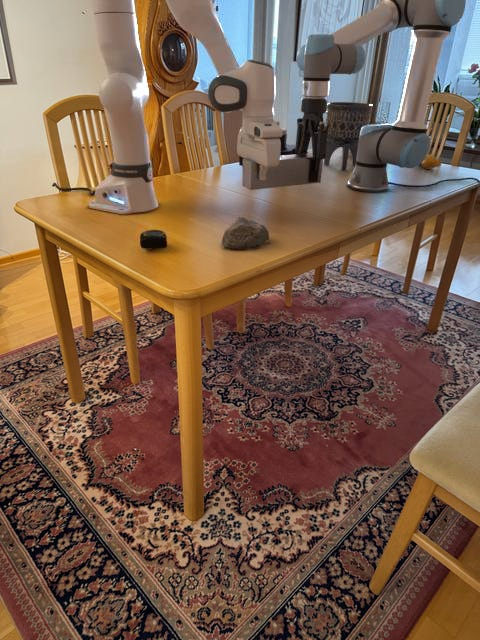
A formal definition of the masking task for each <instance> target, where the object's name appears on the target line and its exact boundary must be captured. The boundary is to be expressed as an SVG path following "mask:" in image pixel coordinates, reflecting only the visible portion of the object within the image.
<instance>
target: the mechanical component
mask: <svg viewBox="0 0 480 640" xmlns="http://www.w3.org/2000/svg"><path fill="white" fill-rule="evenodd" d="M274 121H275V122H276V123H277V124H278V126H279V127H280V121H279V120H274ZM280 128H281V129H282V137H278V138H279V139H280V141H281V152H280V156H282V155H295V154H298V153H297V152H295V147H296V144H290V143H287V138H288V129H287V128H286V127H280ZM307 153H310V152H309V150H307ZM238 157H239V159H238V166H240V167H243V157H241V156H239V155H238Z"/></svg>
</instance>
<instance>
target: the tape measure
mask: <svg viewBox="0 0 480 640" xmlns="http://www.w3.org/2000/svg"><path fill="white" fill-rule="evenodd" d="M167 236H168V235H167V234H166V232H165V231H164V230H161V229H147V230H144V231H143V232H141V233H140V235H139V240H140V241H139V245H140V246H139V247H141V248H142V249H146V250H157V249H167V248H168V240H167V239H168V237H167Z"/></svg>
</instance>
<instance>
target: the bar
mask: <svg viewBox="0 0 480 640" xmlns="http://www.w3.org/2000/svg"><path fill="white" fill-rule="evenodd" d="M316 156H317V155H316ZM311 159H313V154H312V152H309V153H308V154H295V155H282V156H280V161H279V164H278V166H277V167H268V170H267V172H266V178H265V180H259V179H258V173H260V169H261V168H260V164H258V163H256V162H255V161H253V160H250V159H248V158H243V166H242V175H241V176H242V179H241V181H242V182H241V186H243V188H246V189H248V190H249V191H255V190H264V189H273V188H283V187H291V186H292V187H293V186H301V185H302V186H303V185H310V184H312V185H313V184H320V183H321V180H322V173H323V165H324V159H322V160H320V166H319V172H318V182H311V183H310V182H309V175H310V164H311Z"/></svg>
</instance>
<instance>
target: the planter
mask: <svg viewBox="0 0 480 640" xmlns="http://www.w3.org/2000/svg"><path fill="white" fill-rule="evenodd" d="M373 107H374V106H373V104H372V103H367V102H353V101H333V102H328V103H327V111H326V113H325V123H329V129H328V133H327V145H326V157H325V159H323V165H325V166H328V165H330V163H331V158H332V156H333V154H334V153H335V151H336V150H337V149H340V148H341V152H342V153H341V166H340V170H341V172H345V171H347V167H348V166H347V165H348V159H349V154H348V152H349V150H350V151H351V153H352V154H351V157H352V158H351V159H352V160H351V161H352V166H353V167H355V165H356V158H357V150H358V142H359V136H360V131H361V128H362V127H363V126H365V125H370V121H371V116H372V112H373Z"/></svg>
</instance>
